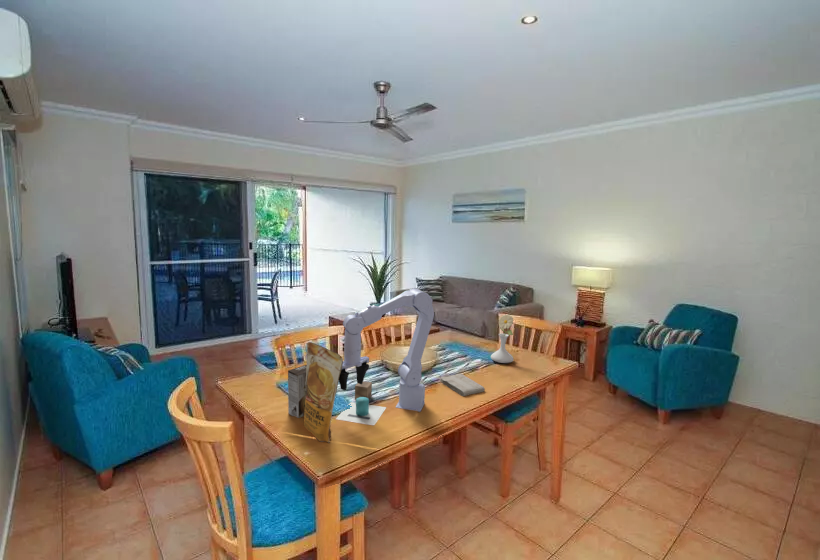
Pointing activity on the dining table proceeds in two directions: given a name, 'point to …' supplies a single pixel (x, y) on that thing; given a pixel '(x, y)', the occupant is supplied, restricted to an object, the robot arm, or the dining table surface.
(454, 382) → the washcloth
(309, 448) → the dining table surface
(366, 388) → the walnut block
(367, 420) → the letter mat
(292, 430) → the dining table surface
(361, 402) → the teal rounded cylinder
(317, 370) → the pancake mix bag
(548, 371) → the dining table surface
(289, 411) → the coffee box
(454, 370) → the dining table surface
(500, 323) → the flower in vase
